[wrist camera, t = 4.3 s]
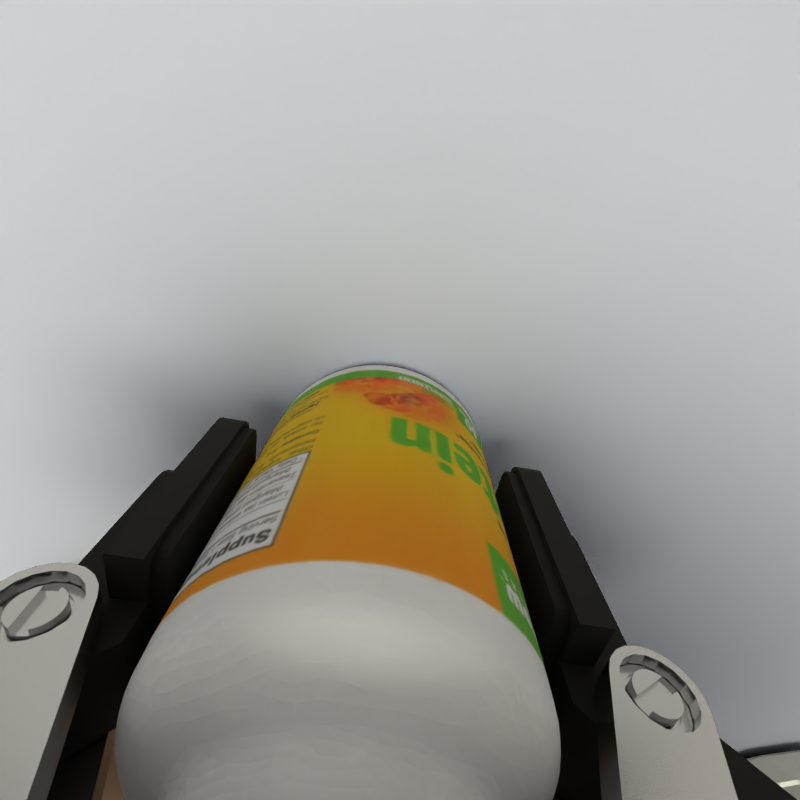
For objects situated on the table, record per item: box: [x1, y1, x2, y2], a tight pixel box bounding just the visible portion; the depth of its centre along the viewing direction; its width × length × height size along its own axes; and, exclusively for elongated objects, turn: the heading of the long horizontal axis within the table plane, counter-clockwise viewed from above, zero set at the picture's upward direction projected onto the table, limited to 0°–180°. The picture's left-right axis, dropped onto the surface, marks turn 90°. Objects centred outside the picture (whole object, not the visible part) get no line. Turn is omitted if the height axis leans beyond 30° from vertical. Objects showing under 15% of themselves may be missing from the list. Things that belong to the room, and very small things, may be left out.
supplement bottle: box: [115, 365, 561, 800], centre depth 7 cm, size 5×5×10 cm
